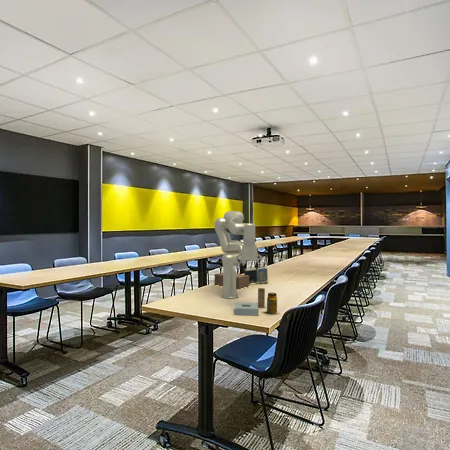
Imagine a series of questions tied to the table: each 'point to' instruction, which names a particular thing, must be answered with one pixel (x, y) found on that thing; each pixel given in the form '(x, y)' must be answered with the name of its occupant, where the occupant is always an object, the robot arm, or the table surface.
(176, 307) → the table surface
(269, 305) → the condiment
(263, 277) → the radio
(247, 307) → the socket block
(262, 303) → the peg
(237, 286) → the tissue box cover
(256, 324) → the table surface
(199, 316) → the table surface
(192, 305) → the table surface
